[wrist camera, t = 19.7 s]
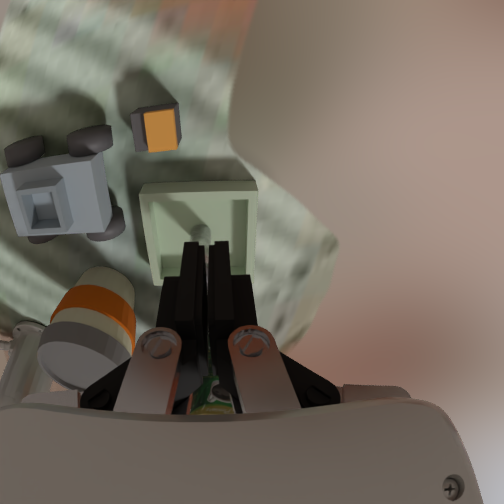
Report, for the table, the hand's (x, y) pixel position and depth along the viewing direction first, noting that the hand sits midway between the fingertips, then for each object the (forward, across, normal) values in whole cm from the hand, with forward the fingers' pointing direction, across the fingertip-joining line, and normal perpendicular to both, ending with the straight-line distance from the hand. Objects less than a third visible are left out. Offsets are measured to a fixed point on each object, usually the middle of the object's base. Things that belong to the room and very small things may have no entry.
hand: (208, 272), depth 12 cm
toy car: (+25, +18, +5) cm, 31 cm away
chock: (+25, +6, -1) cm, 26 cm away
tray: (+25, +2, +13) cm, 28 cm away
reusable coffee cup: (+25, +17, +23) cm, 38 cm away
